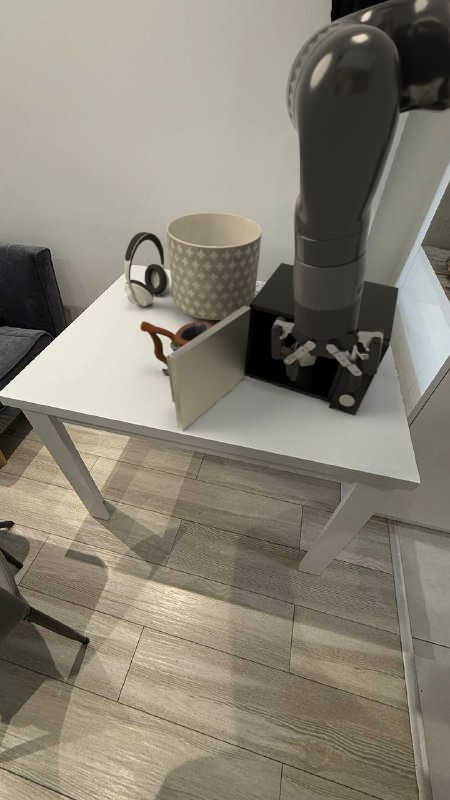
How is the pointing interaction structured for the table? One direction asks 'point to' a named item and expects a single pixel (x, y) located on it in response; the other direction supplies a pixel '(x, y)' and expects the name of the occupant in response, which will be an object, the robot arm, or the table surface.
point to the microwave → (326, 374)
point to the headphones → (153, 275)
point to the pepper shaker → (307, 360)
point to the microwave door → (208, 366)
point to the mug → (173, 337)
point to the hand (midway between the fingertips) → (321, 381)
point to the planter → (213, 263)
